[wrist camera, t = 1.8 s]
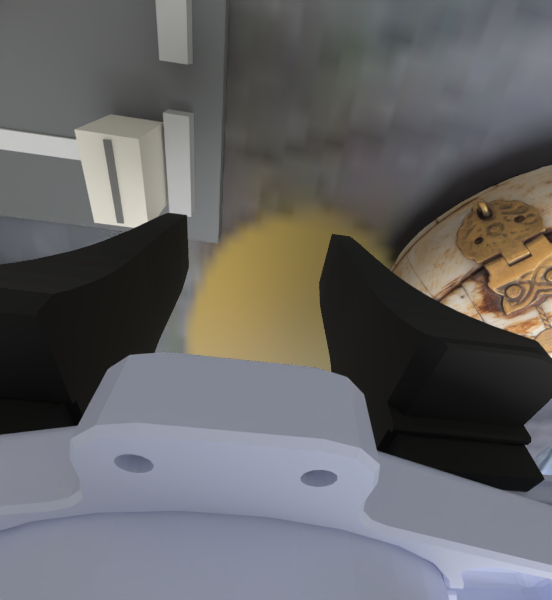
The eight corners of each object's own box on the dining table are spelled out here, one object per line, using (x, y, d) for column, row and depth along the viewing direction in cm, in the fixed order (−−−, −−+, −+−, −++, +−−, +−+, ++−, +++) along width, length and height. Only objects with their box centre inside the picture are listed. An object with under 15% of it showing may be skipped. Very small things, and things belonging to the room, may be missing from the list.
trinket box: (673, 177, 19) (862, 244, 13) (496, 351, 28) (557, 439, 22) (473, 100, 17) (583, 133, 11) (350, 314, 26) (371, 401, 20)
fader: (168, 201, 19) (147, 230, 16) (122, 195, 18) (93, 223, 16) (163, 122, 16) (137, 139, 13) (110, 114, 16) (72, 130, 13)
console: (221, 234, 22) (215, 251, 20) (-110, 191, 20) (-146, 206, 18) (235, -171, 12) (227, -207, 10) (-400, -306, 10) (-535, -375, 9)
